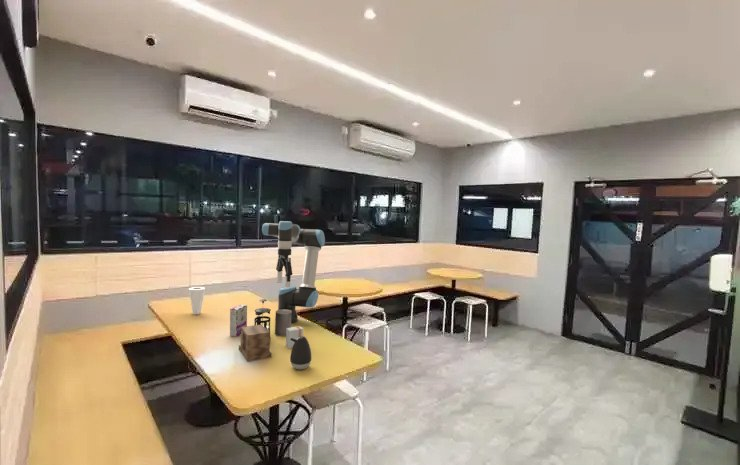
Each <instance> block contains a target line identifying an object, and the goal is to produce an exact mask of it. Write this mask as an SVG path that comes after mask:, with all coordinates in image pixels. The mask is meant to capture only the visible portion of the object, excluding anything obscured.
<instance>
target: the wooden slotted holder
mask: <svg viewBox="0 0 740 465" xmlns="http://www.w3.org/2000/svg"><path fill="white" fill-rule="evenodd" d="M270 347H271V331H270V332H269V331H268V330H267V329H266V328H265V327H264V324H263V325H262V324H261V325H257V324H256V325H247V327H241V335H240V345H238V351H239V352H240V354H241V355H242V356H243V357H244V359H245V361H246V362H252V361H257V360H262V359H263V360H265V359H267V358H272V352H271V350H270Z"/></svg>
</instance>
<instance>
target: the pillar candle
mask: <svg viewBox="0 0 740 465" xmlns="http://www.w3.org/2000/svg"><path fill="white" fill-rule="evenodd" d="M291 314H292V311H291V310H287V309H281V310H278V309H277V310H275V317H274V322H275V324H274V335H276V336H278V337H279V336H281V337H282V336H285V337H286V328H291V327H292V323H291Z"/></svg>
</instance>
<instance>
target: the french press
mask: <svg viewBox="0 0 740 465" xmlns="http://www.w3.org/2000/svg"><path fill="white" fill-rule="evenodd" d="M258 301H259V302H261V303H262V304H264V303H265V302H267V301H268V300H267V299H265V298H264V299H260V300H258ZM271 310H272V309H270V308H267V307H261V308H256V309H255V310H254V312H255V315H256V317H254V319H253V320H254V323H253V324H254V325H263V326H264V327H265V328H266V329H267V330H268V331H269V332H270V333H271V317H270V316H267V315H264V314H265V313H267V314H269V315H270V313H271ZM264 319H265V320H264ZM254 325H253V326H254Z"/></svg>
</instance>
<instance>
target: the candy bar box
mask: <svg viewBox="0 0 740 465" xmlns="http://www.w3.org/2000/svg"><path fill="white" fill-rule="evenodd" d="M247 323H248V304H237V305H236V306H234V307H232V308H229V336H230V337H238V336H241V327H247V326H248V324H247Z"/></svg>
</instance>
